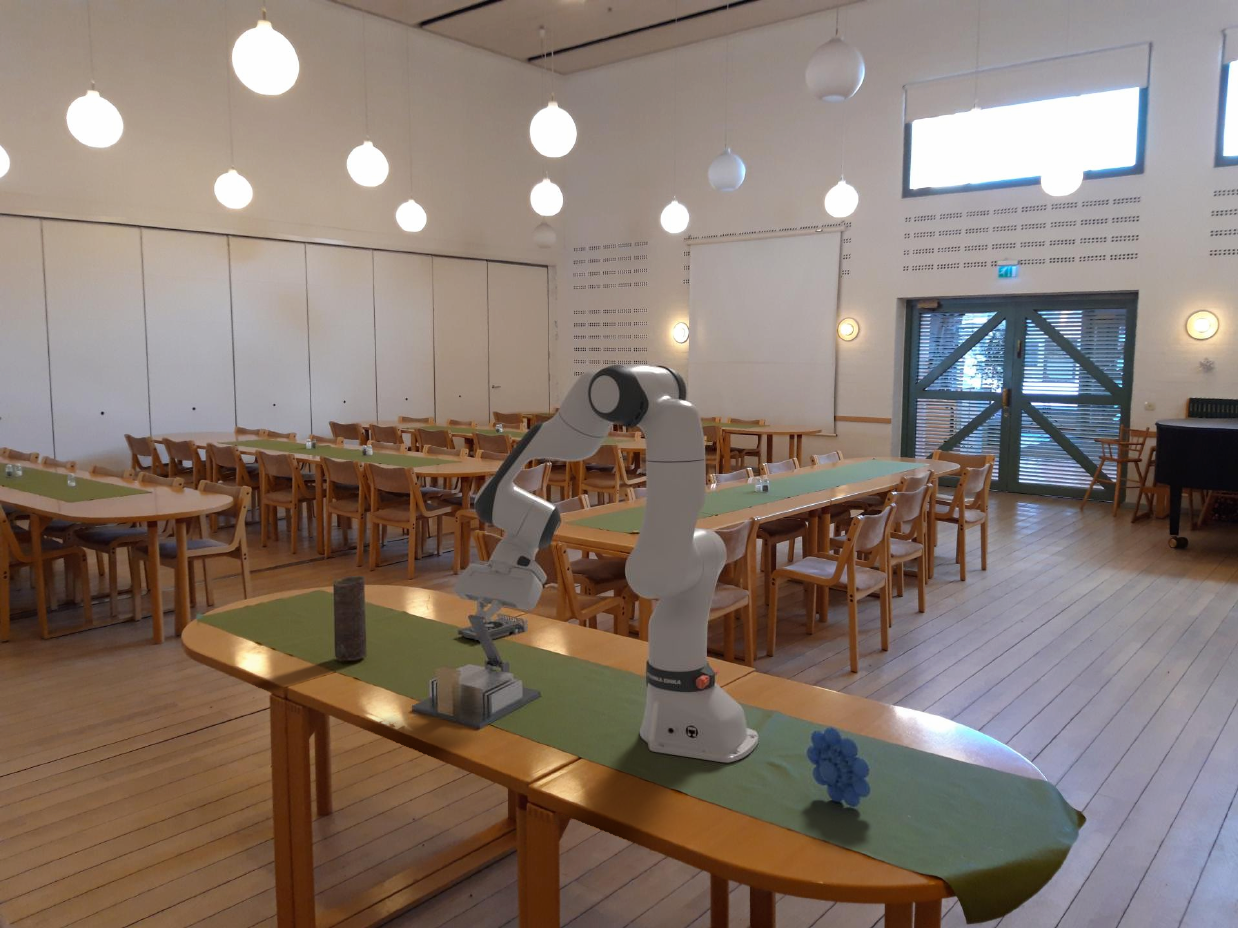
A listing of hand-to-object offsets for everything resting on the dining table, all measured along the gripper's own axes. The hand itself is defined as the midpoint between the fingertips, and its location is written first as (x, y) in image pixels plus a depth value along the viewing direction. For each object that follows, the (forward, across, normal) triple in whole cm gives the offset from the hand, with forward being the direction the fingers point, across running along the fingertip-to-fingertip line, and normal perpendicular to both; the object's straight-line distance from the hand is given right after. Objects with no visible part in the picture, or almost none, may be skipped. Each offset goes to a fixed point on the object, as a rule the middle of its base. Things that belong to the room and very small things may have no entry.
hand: (481, 619), depth 184 cm
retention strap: (+3, 0, +5) cm, 6 cm away
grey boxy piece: (+13, 0, +12) cm, 17 cm away
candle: (+10, -44, +15) cm, 48 cm away
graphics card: (-14, -29, +40) cm, 51 cm away
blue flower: (+16, +77, +9) cm, 79 cm away
